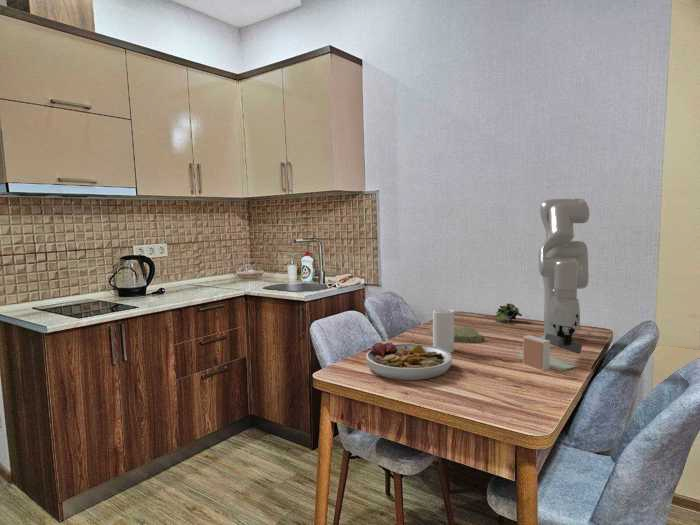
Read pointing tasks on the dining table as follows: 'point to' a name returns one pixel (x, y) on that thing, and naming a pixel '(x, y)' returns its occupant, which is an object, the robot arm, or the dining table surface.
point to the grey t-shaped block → (559, 343)
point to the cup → (443, 329)
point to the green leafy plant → (507, 312)
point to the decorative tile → (464, 334)
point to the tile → (536, 352)
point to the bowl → (408, 361)
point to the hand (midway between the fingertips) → (564, 343)
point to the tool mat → (556, 363)
